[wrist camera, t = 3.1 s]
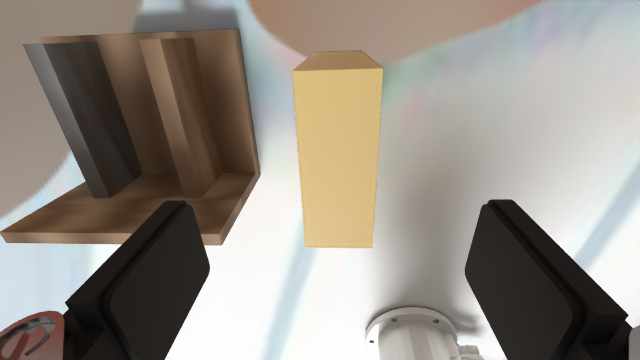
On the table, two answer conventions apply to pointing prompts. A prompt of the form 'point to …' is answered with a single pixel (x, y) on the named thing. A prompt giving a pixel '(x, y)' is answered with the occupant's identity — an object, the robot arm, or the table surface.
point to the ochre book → (338, 146)
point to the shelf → (146, 132)
